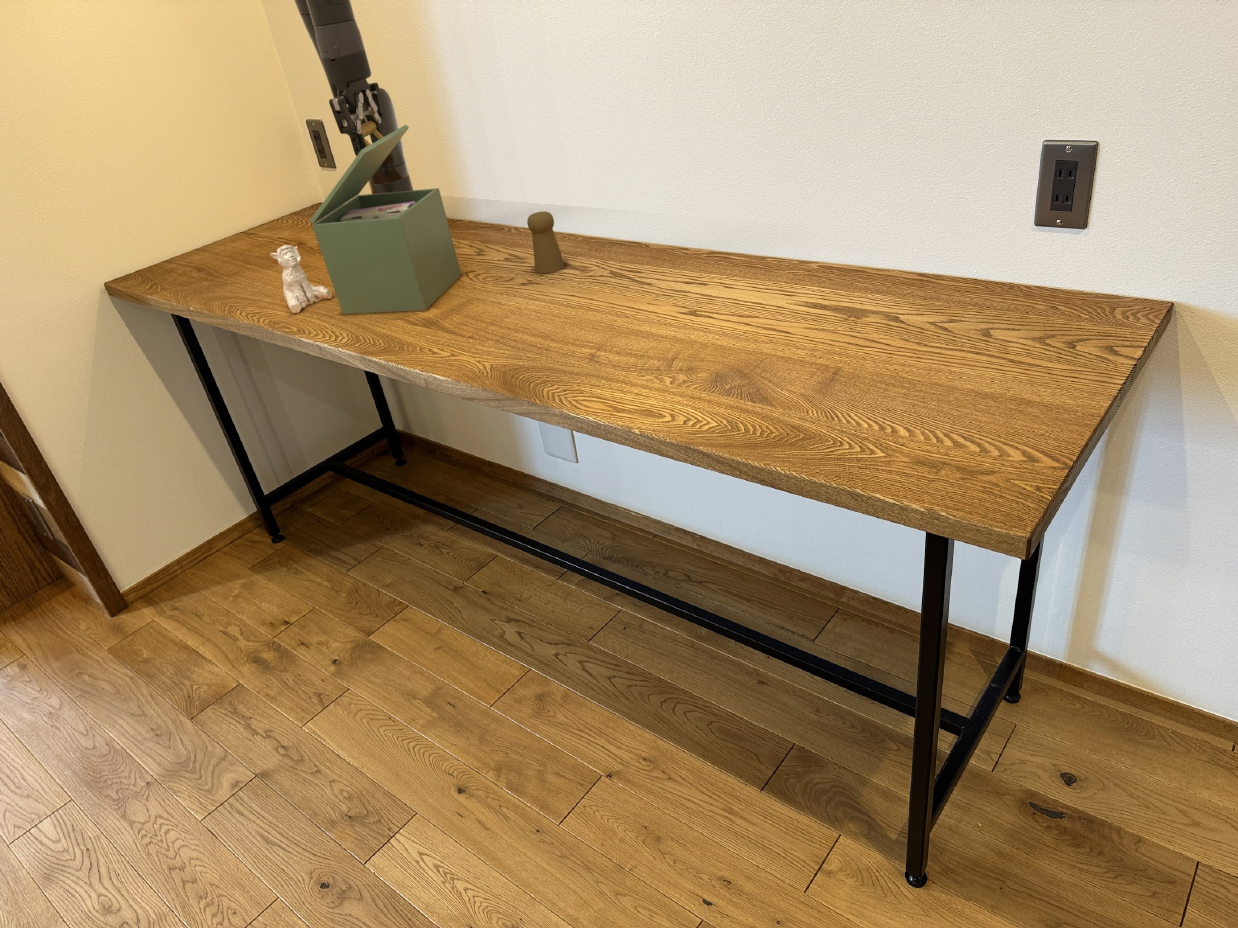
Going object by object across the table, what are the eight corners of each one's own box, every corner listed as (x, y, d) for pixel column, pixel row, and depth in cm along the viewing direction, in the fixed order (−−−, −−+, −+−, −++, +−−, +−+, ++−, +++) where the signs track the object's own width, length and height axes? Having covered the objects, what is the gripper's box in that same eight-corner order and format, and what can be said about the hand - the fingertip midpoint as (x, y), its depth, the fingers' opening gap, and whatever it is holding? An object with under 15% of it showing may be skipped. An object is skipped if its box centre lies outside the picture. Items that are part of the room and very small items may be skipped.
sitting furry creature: (294, 315, 177) (272, 257, 171) (273, 308, 183) (251, 252, 176) (334, 297, 183) (315, 240, 176) (313, 291, 188) (293, 236, 182)
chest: (461, 274, 182) (438, 188, 173) (425, 310, 168) (398, 218, 159) (383, 279, 188) (357, 195, 178) (342, 314, 174) (311, 225, 164)
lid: (409, 127, 168) (388, 106, 166) (365, 153, 154) (341, 130, 152) (358, 194, 178) (338, 175, 177) (312, 224, 164) (290, 203, 163)
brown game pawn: (569, 261, 179) (558, 207, 173) (558, 273, 174) (547, 218, 169) (542, 262, 181) (531, 208, 175) (530, 273, 177) (518, 219, 171)
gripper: (344, 46, 160) (371, 142, 169) (301, 61, 149) (333, 163, 158) (381, 41, 158) (406, 139, 167) (340, 56, 147) (370, 160, 156)
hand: (370, 150), depth 162 cm, fingers closed on lid, 6 cm apart
